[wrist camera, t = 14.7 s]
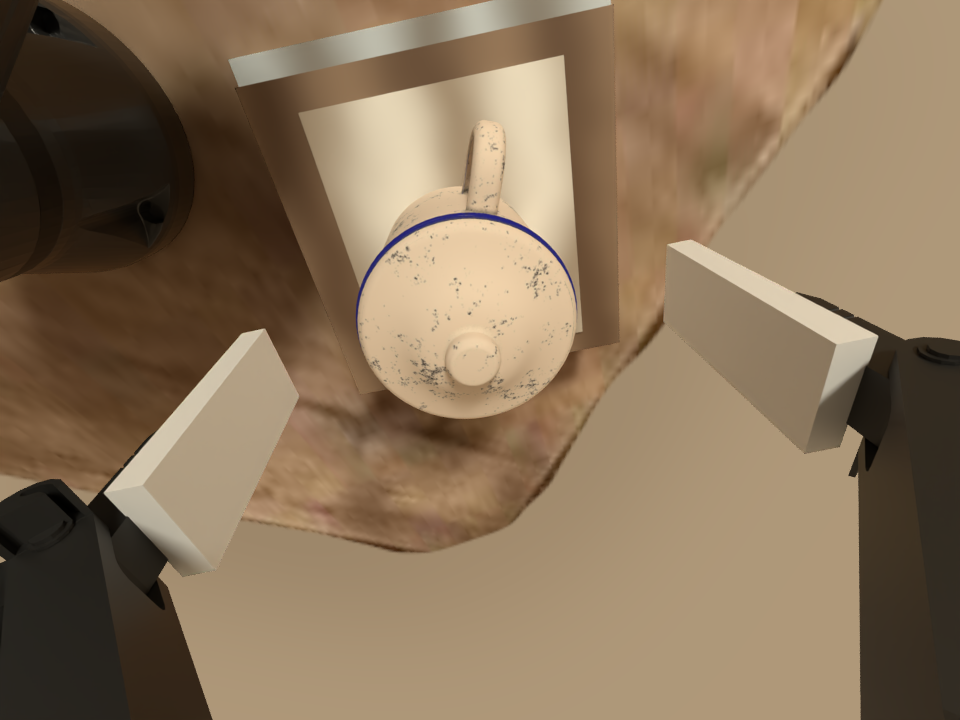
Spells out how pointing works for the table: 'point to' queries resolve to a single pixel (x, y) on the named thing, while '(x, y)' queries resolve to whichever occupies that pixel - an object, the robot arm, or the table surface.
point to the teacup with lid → (466, 298)
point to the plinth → (444, 140)
